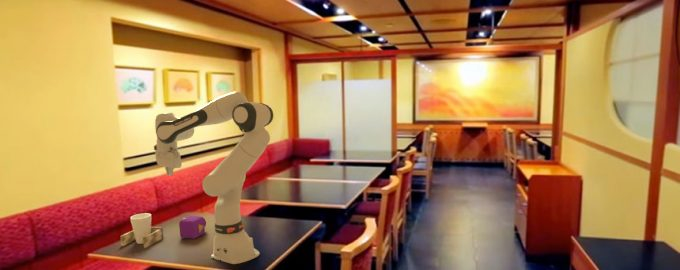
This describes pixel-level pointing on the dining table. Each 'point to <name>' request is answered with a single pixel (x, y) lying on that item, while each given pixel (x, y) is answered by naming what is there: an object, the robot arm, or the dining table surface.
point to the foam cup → (141, 226)
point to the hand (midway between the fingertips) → (170, 175)
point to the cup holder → (147, 240)
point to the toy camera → (192, 227)
